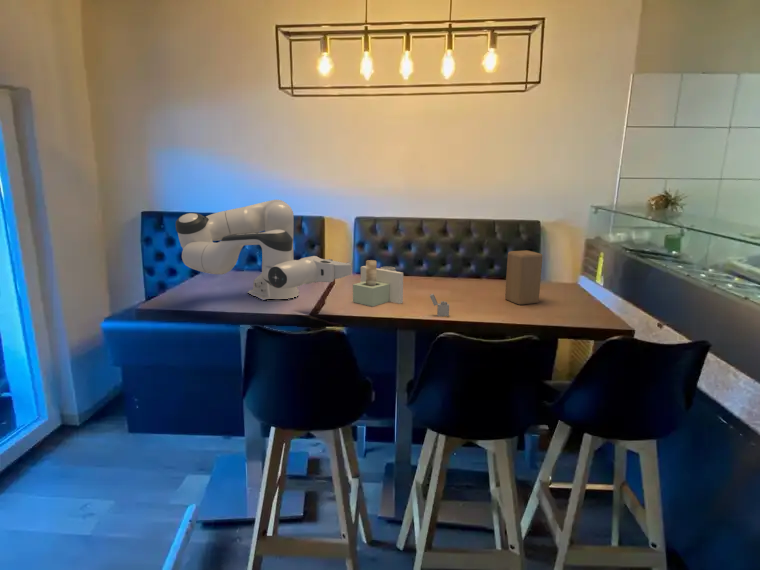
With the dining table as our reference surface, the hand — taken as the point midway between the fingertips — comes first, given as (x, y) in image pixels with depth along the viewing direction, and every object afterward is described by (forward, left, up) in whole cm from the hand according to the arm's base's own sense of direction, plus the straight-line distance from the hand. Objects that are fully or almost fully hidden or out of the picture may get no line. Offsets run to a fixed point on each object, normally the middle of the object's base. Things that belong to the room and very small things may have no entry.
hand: (340, 263), depth 183 cm
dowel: (+1, +16, -16) cm, 23 cm away
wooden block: (+43, +60, -19) cm, 76 cm away
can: (-3, +31, -19) cm, 37 cm away
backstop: (+1, +12, -19) cm, 22 cm away
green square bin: (+1, +16, -17) cm, 24 cm away
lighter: (+29, +21, -19) cm, 40 cm away
